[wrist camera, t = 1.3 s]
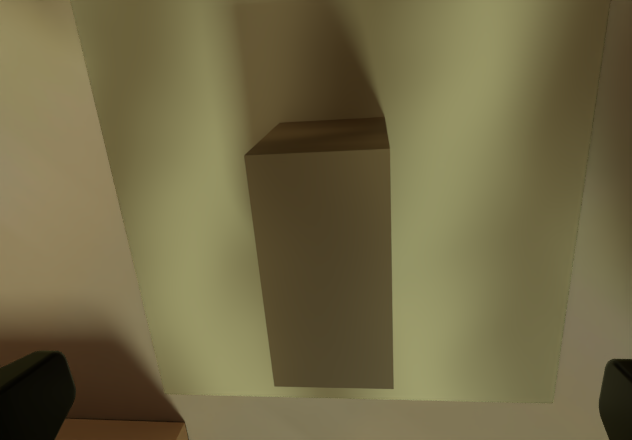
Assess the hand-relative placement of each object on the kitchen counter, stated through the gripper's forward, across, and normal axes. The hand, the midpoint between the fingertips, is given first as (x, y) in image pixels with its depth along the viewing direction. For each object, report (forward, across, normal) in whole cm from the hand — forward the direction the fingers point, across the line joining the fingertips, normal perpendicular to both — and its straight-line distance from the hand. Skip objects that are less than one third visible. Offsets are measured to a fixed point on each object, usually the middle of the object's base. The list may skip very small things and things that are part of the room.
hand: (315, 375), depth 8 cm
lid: (+8, 0, 0) cm, 8 cm away
